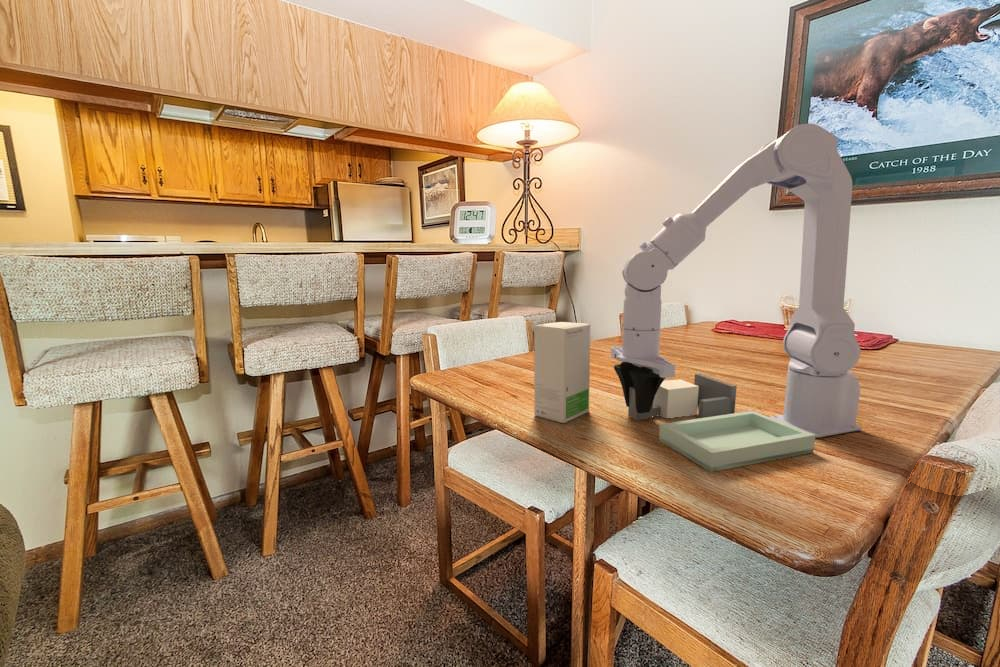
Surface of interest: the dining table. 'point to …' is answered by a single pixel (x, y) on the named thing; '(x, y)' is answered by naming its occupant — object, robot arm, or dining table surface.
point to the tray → (735, 440)
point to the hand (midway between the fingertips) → (637, 409)
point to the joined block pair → (668, 400)
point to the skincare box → (561, 370)
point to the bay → (714, 396)
